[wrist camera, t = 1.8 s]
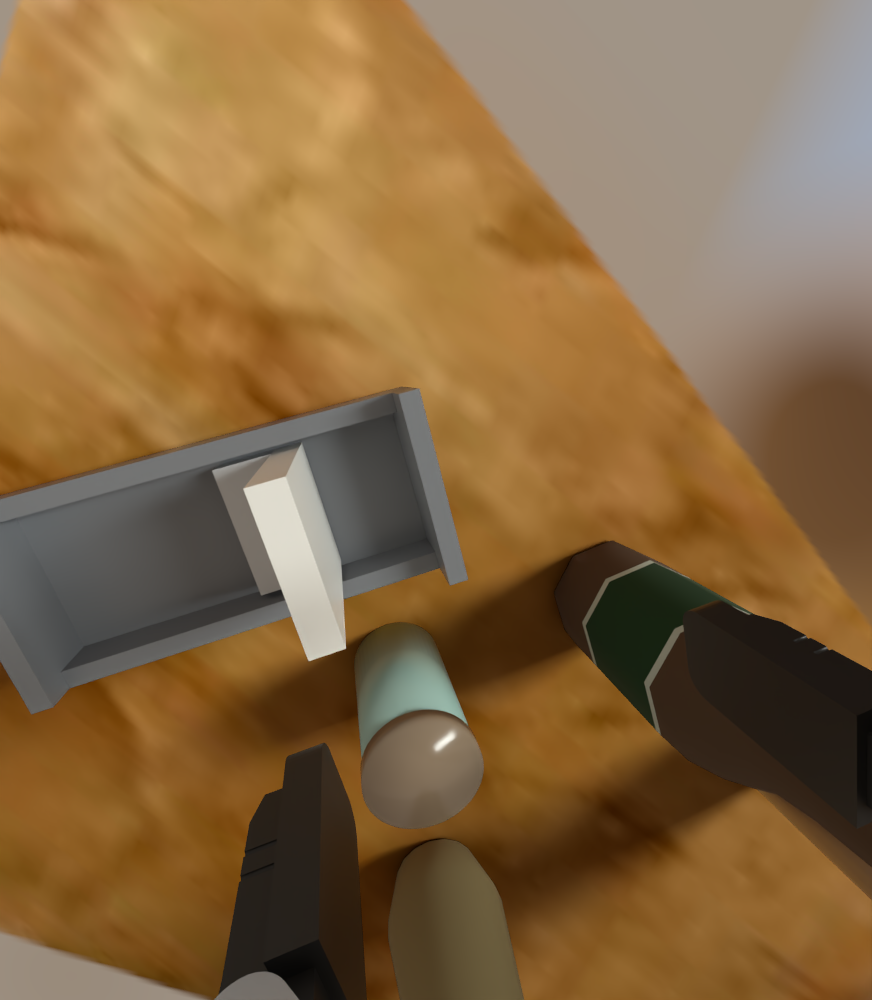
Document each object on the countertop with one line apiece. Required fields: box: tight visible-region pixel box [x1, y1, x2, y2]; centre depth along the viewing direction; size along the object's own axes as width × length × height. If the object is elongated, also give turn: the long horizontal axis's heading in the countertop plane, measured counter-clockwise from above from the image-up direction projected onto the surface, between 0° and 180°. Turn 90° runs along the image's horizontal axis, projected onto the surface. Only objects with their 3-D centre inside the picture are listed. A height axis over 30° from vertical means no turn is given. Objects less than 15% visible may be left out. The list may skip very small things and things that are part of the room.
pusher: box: [212, 442, 346, 661], centre depth 23 cm, size 4×7×10 cm, turn 14°
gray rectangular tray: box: [0, 387, 468, 714], centre depth 26 cm, size 22×10×6 cm, turn 104°
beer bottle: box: [554, 541, 872, 867], centre depth 23 cm, size 8×8×24 cm
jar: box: [354, 622, 484, 829], centre depth 28 cm, size 6×6×10 cm
